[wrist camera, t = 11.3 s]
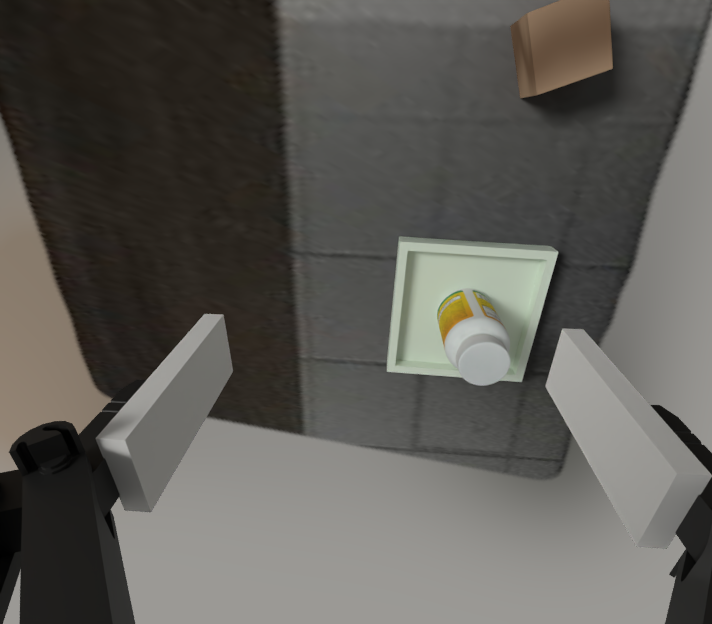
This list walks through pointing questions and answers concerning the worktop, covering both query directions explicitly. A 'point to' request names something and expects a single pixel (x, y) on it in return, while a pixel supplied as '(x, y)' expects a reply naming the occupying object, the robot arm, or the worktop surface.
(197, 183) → the worktop surface
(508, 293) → the tray
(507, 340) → the supplement bottle
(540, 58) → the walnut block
